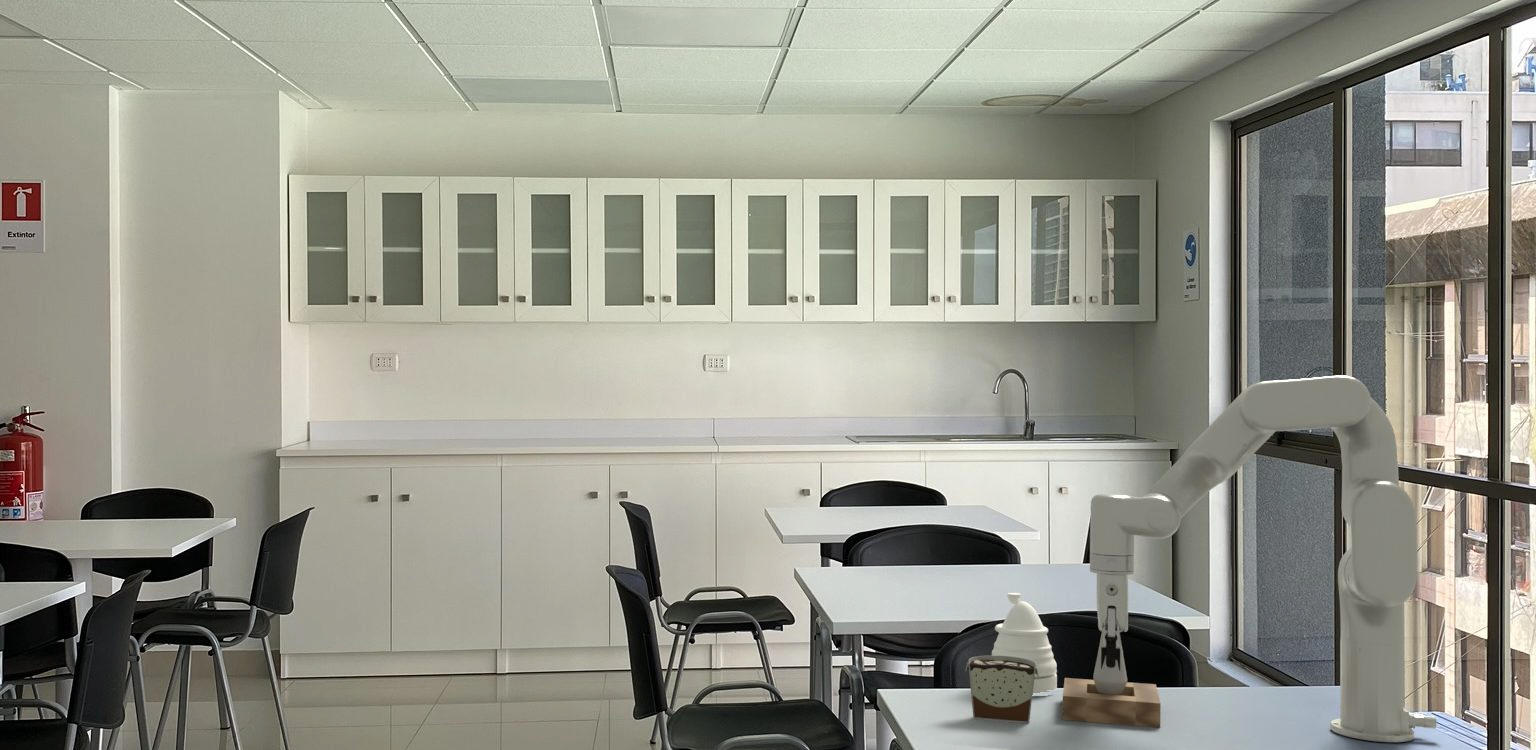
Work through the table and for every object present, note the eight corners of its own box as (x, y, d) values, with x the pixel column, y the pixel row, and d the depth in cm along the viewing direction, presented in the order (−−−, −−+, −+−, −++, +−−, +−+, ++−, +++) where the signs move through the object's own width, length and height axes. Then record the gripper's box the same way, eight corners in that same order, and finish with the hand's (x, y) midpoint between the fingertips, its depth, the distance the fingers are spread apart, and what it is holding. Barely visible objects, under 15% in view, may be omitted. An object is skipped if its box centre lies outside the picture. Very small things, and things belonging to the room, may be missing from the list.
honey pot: (975, 689, 232) (976, 594, 233) (1008, 679, 242) (1009, 588, 243) (1036, 700, 224) (1038, 601, 225) (1068, 689, 234) (1069, 595, 235)
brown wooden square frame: (1155, 706, 221) (1155, 684, 221) (1160, 727, 205) (1160, 703, 205) (1064, 699, 225) (1064, 677, 225) (1062, 719, 209) (1062, 695, 209)
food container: (1040, 716, 212) (1040, 657, 212) (1038, 724, 206) (1038, 664, 206) (968, 710, 215) (969, 652, 215) (964, 717, 209) (965, 659, 209)
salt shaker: (1128, 696, 212) (1128, 621, 212) (1094, 694, 213) (1094, 619, 213) (1125, 689, 217) (1126, 616, 218) (1092, 687, 218) (1093, 614, 219)
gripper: (1135, 570, 207) (1134, 679, 206) (1132, 560, 223) (1131, 662, 222) (1089, 568, 209) (1088, 676, 208) (1089, 558, 225) (1088, 659, 224)
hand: (1110, 668), depth 215 cm, fingers closed on salt shaker, 3 cm apart
